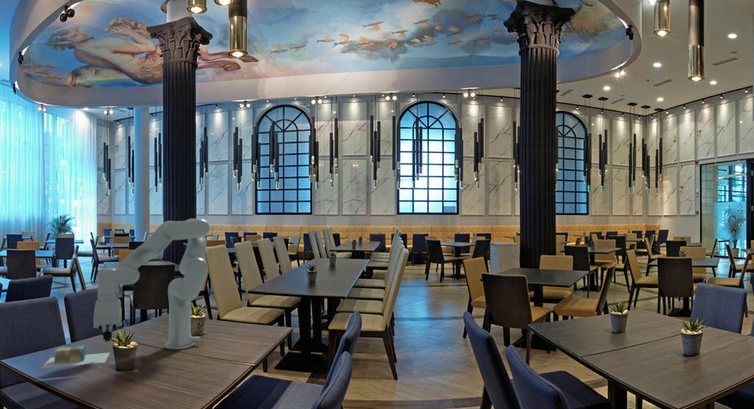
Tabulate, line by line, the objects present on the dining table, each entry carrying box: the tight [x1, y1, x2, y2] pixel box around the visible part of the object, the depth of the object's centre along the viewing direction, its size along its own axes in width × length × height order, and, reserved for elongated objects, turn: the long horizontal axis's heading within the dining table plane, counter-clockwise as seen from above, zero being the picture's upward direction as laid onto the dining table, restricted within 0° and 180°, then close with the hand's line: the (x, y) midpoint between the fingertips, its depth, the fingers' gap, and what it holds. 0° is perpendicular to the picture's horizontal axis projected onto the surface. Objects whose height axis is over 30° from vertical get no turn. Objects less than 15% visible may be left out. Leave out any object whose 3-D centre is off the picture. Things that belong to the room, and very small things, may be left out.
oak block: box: [54, 345, 87, 364], centre depth 198 cm, size 5×5×10 cm
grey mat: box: [41, 352, 110, 369], centre depth 199 cm, size 22×14×1 cm, turn 112°
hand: (107, 340), depth 203 cm, fingers closed
